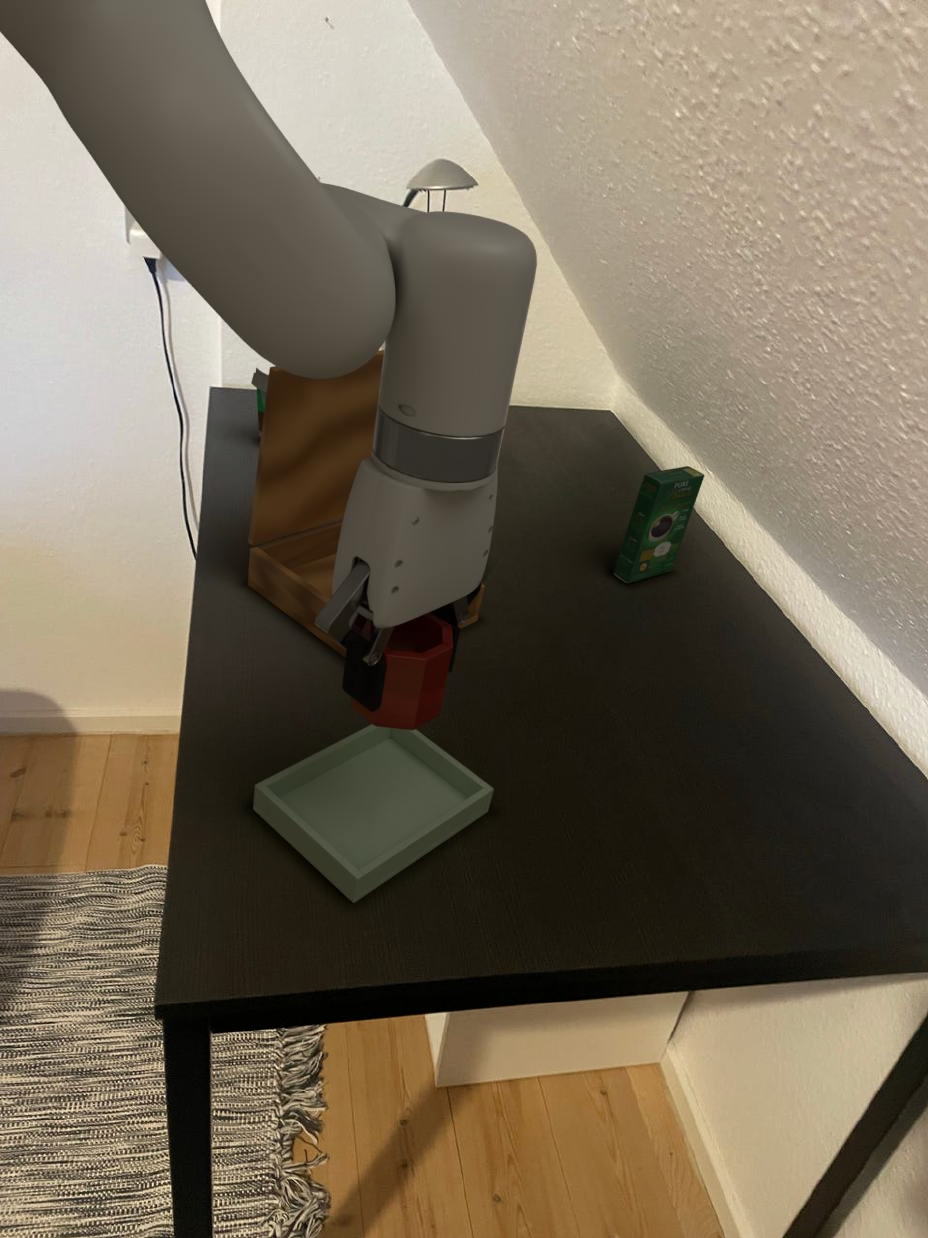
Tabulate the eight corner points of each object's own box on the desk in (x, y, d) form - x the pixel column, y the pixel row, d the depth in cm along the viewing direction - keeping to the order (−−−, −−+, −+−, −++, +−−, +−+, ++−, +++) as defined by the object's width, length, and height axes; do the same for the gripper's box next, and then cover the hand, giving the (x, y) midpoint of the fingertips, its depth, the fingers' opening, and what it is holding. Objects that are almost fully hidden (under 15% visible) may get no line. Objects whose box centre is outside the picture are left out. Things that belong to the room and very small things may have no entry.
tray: (353, 904, 64) (357, 879, 63) (252, 809, 70) (254, 784, 69) (488, 811, 74) (494, 788, 73) (390, 735, 80) (394, 712, 78)
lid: (403, 350, 92) (369, 329, 95) (275, 370, 82) (240, 346, 84) (369, 510, 103) (339, 488, 105) (252, 546, 92) (222, 520, 95)
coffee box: (656, 560, 115) (688, 462, 108) (673, 572, 114) (707, 473, 107) (610, 573, 111) (641, 471, 104) (628, 585, 109) (660, 483, 102)
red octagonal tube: (394, 741, 63) (406, 669, 59) (332, 693, 66) (341, 622, 63) (456, 706, 67) (471, 637, 64) (396, 663, 70) (407, 595, 67)
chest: (477, 621, 97) (485, 585, 95) (365, 673, 86) (371, 634, 84) (362, 546, 106) (366, 512, 103) (247, 585, 95) (249, 548, 93)
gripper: (485, 396, 64) (444, 617, 73) (280, 443, 52) (263, 699, 61) (573, 438, 60) (517, 665, 69) (373, 499, 48) (339, 762, 58)
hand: (398, 679), depth 65 cm, fingers closed on red octagonal tube, 6 cm apart
